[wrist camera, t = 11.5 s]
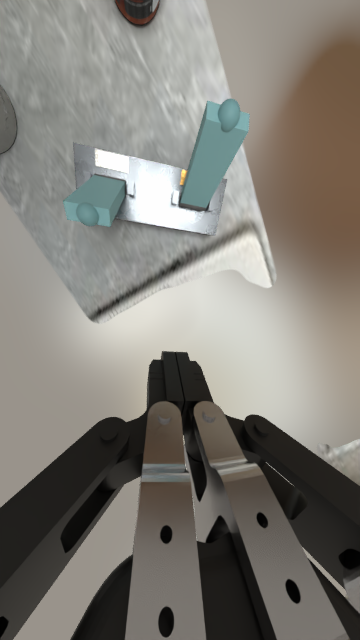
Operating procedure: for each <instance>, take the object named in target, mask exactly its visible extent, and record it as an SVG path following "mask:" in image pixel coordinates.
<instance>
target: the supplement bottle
mask: <svg viewBox="0 0 360 640" xmlns="http://www.w3.org/2000/svg"><path fill="white" fill-rule="evenodd" d="M115 1H116V4H117V6H118V7H119V9H120V11H121V12H122V13H123V15H124V16H125V17H126V18H127V19H128V20H129V21H131V22H133V23H135V24H145V23H147V22H149V21H150V20H151V19H152V18H153V16H154V15H155V13H156V11H157V8H158V5H159V0H115Z"/></svg>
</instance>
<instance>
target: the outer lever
mask: <svg viewBox="0 0 360 640" xmlns="http://www.w3.org/2000/svg"><path fill="white" fill-rule="evenodd" d="M248 127H249V114H247V113H244V112H241V111H240V107H239V104H238V102H237V101H235V100H234V99H227V100H226V101H224V102H223V103H222V104H221V105H220V104H217V103H213V102H210V101H207V104H206V108H205V111H204V115H203V118H202V122H201V125H200V129H199V132H198V136H197V139H196V143H195V146H194V150H193V153H192V157H191V160H190V164H189V167H188V170H187V174H186V177H185V181H184V184H183V188H182V191H181V194H180V200H179V206H181V207H186V208H191V209H196V210H201V211H205V209H206V207H207V205H208V203H209V202H210V200H211V198H212V196H213V194H214V193H215V191H216V189H217V187H218V185H219V184H220V182H221V180H222V178H223V176H224V175H225V173H226V171H227V169H228V167H229V165H230V164H231V162H232V160H233V158H234V156H235V155H236V153H237V151H238V149H239V147H240V146H241V144H242V142H243V140H244V138H245V136H246V135H247V133H248Z"/></svg>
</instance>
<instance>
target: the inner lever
mask: <svg viewBox="0 0 360 640" xmlns="http://www.w3.org/2000/svg"><path fill="white" fill-rule="evenodd" d="M125 195H126V180H124V179H119V178H114V177H110V176H105V175H100V174H96V173H95V174H94V175H93V176H92V177H91V178H90V179H89V180H87V181H86V182H85V183H84V184H83V185H81V186H80V187H79V188H78V189H77V190H75V191H74V192H73V193H72V194H71V195H69V196H68V197H67V198H66V199H65V200H63V203H64V208H65V212H66V216H67V220H73V221H79V222H81V223H83V224H84V225H86V226H94V225H96V224H97V225H103V226H109V227H111V225H112V222H113V220H114V218H115V216H116V214H117V212H118V210H119V207H120V205H121V203H122V201H123V199H124V197H125Z"/></svg>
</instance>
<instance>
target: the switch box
mask: <svg viewBox="0 0 360 640" xmlns="http://www.w3.org/2000/svg"><path fill="white" fill-rule="evenodd" d="M73 149H74V163H75V177H76V190H77V189H78V188H79V187H80V186H81V185H83V184H84V183H85V182H86V181H87V180H89V179H90V178H91V177H92V176H93V175H94V174H95V173H96V174H100V175H105V176H110V177H114V178H119V179H124V180H126V195H125V197H124V199H123V201H122V203H121V205H120V207H119V210H118V212H117V214H116V216H115V218H114V219H120V220H126V221H131V222H137V223H143V224H148V225H154V226H160V227H166V228H171V229H177V230H183V231H188V232H194V233H200V234H205V235H215V234H216V229H217V225H218V220H219V215H220V210H221V206H222V201H223V196H224V192H225V187H226V182H227V179H223V178H222V180H221V182H220V184H219V185H218V187H217V189H216V191H215V193H214V194H213V196H212V198H211V200H210V202H209V203H208V205H207V207H206V209H205V211H201V210H196V209H191V208H186V207H181V206H179V200H180V194H181V191H182V188H183V184H184V181H185V177H186V174H187V170H186V169H181V168H177V167H173V166H169V165H165V164H161V163H157V162H152V161H148V160H144V159H140V158H136V157H132V156H128V155H123V154H119V153H115V152H111V151H107V150H103V149H99V148H94V147H90V146H86V145H82V144H78V143H74V142H73Z"/></svg>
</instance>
